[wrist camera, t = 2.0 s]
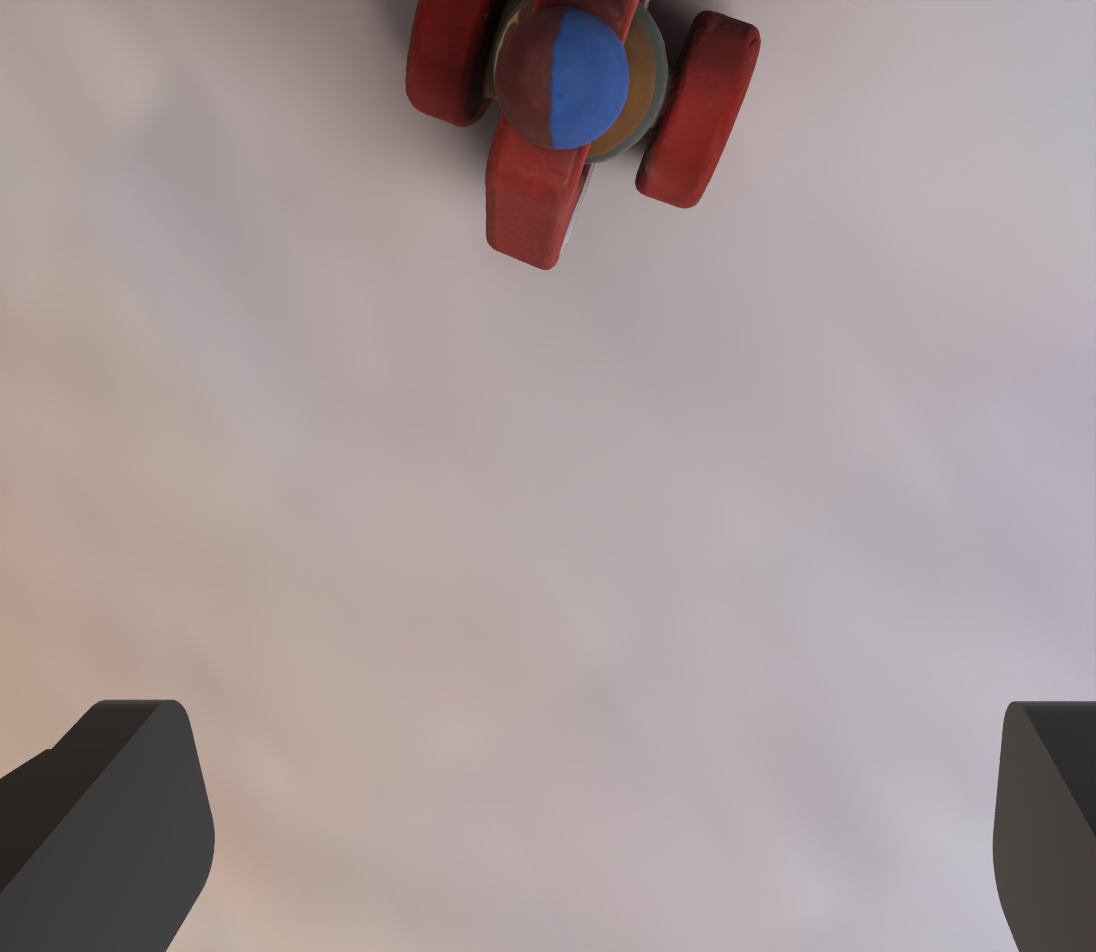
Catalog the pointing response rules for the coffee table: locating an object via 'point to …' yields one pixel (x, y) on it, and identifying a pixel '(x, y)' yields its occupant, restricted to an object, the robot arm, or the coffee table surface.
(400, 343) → the coffee table surface
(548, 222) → the toy fire truck
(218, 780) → the coffee table surface
